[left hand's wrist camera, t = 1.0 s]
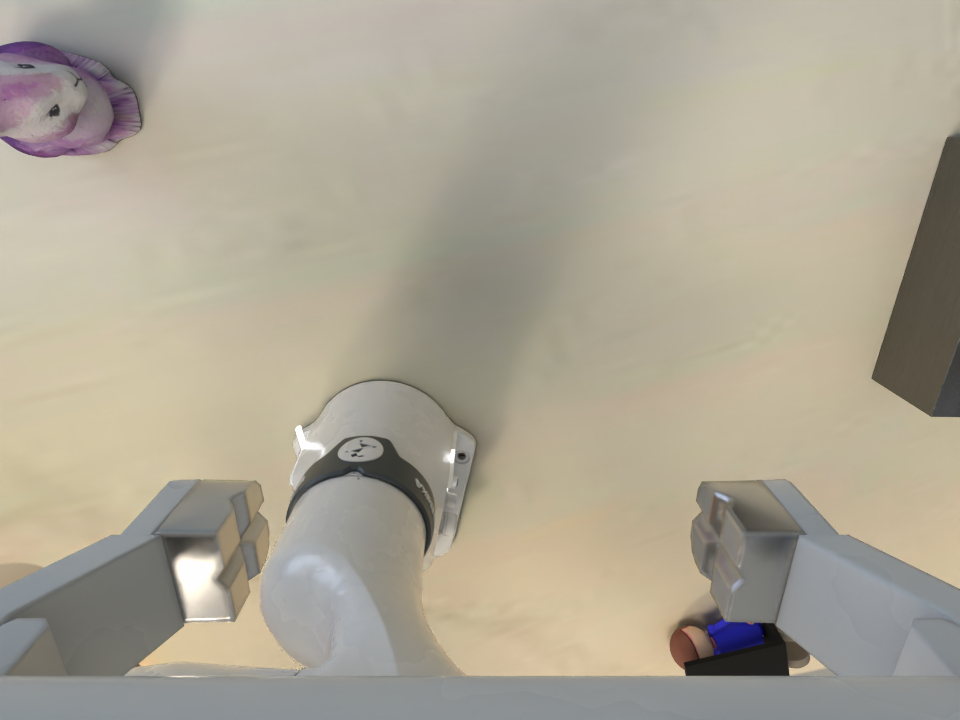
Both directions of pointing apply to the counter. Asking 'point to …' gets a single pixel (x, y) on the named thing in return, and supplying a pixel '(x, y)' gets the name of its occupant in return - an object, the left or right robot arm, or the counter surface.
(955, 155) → the bar
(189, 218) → the counter surface
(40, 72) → the figurine
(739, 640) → the figurine character
